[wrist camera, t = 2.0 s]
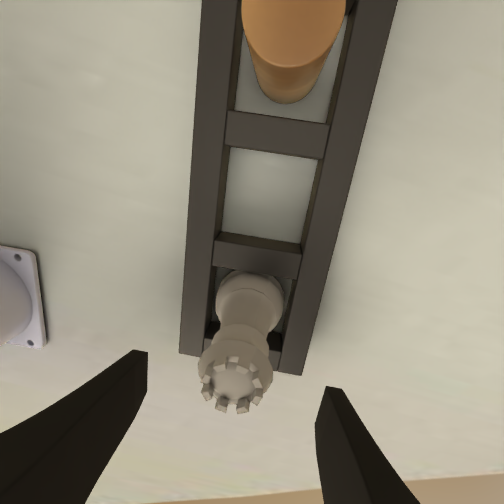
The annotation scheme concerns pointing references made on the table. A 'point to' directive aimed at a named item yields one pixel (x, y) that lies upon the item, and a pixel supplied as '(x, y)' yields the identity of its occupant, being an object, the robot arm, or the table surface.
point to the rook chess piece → (241, 340)
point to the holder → (281, 142)
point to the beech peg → (290, 43)
